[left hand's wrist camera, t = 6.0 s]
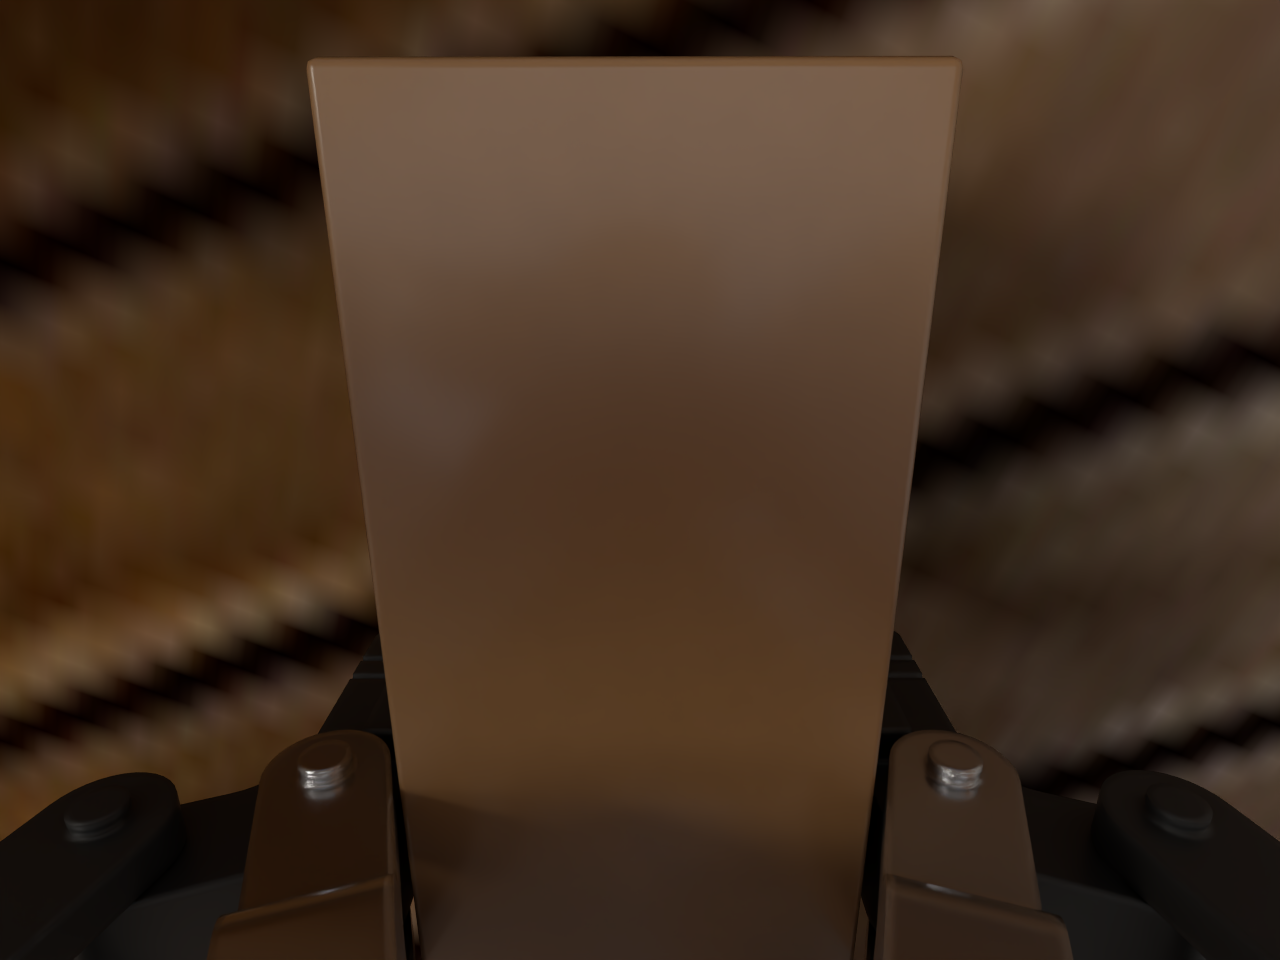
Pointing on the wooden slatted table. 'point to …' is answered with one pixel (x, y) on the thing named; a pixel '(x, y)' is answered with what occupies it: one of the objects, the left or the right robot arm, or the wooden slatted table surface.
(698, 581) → the post
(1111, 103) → the wooden slatted table surface
